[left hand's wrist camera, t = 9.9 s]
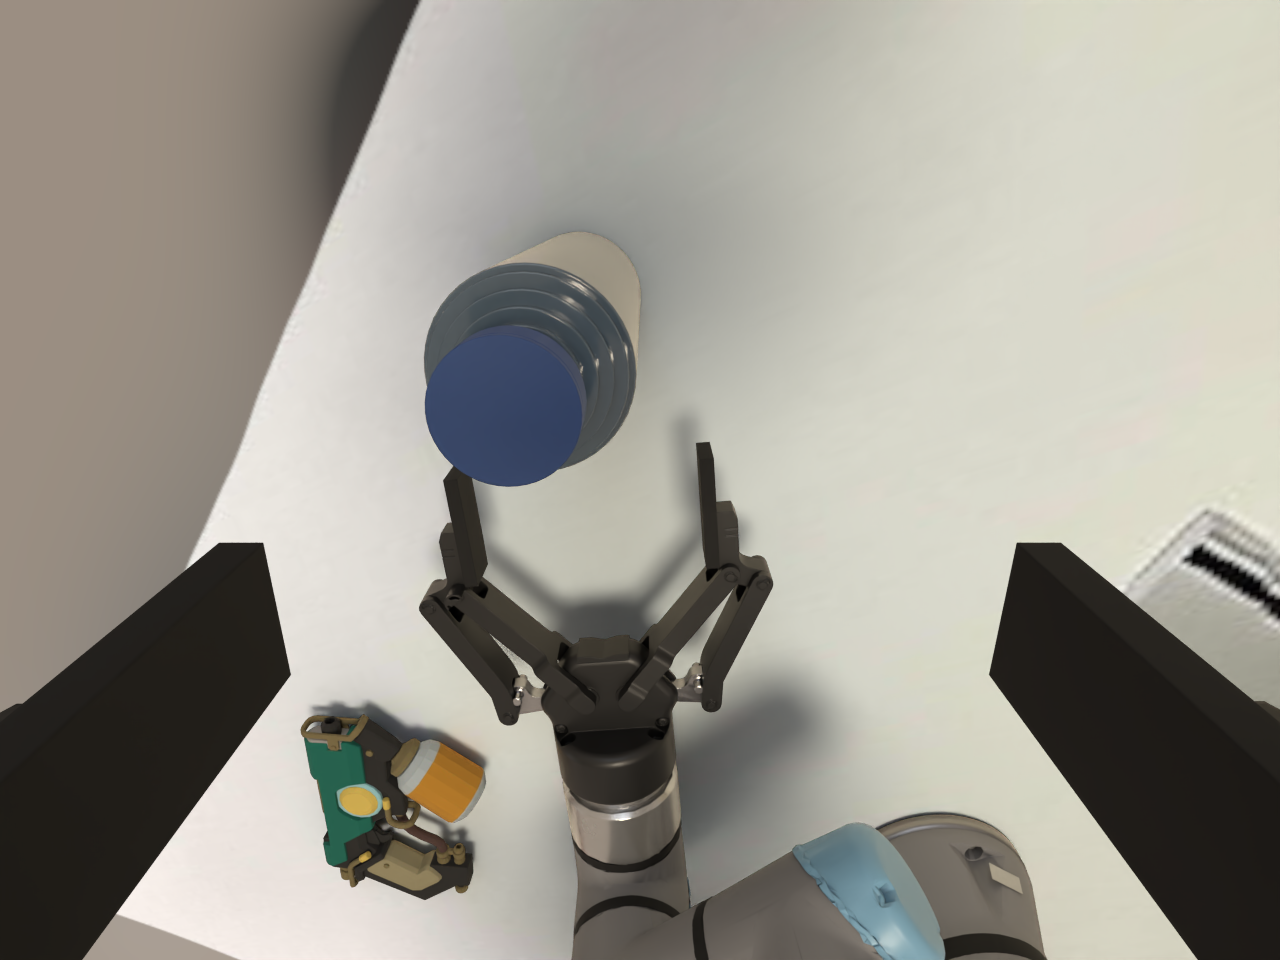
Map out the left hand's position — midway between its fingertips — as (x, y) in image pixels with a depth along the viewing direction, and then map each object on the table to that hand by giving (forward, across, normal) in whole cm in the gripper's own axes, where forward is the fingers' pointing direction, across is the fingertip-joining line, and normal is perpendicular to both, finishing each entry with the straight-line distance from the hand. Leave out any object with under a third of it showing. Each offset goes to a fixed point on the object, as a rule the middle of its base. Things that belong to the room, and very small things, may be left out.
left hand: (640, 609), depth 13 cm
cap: (+8, +4, -1) cm, 9 cm away
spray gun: (+33, +19, +37) cm, 53 cm away
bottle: (+32, +4, -2) cm, 33 cm away
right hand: (+26, +3, +6) cm, 27 cm away
